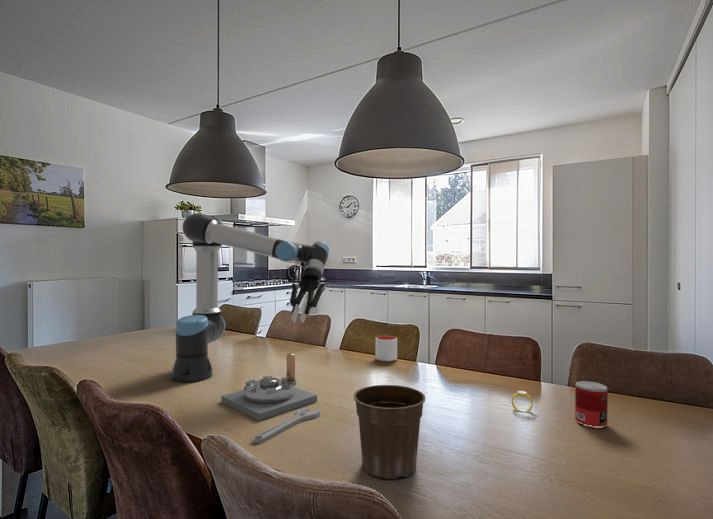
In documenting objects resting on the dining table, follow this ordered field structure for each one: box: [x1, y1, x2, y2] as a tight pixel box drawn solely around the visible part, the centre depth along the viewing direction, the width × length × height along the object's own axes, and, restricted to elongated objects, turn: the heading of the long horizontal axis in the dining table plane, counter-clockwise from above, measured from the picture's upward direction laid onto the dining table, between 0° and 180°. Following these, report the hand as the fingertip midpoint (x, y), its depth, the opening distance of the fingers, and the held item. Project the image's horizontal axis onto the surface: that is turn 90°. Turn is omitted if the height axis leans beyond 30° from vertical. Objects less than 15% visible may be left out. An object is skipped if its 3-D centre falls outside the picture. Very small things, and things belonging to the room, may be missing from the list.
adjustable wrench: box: [252, 406, 321, 445], centre depth 115 cm, size 25×6×2 cm, turn 144°
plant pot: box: [353, 384, 426, 480], centre depth 93 cm, size 16×16×16 cm
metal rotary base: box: [243, 352, 297, 404], centre depth 133 cm, size 17×16×13 cm
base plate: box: [220, 386, 318, 422], centre depth 133 cm, size 22×22×2 cm
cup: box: [375, 335, 398, 363], centre depth 188 cm, size 10×10×10 cm
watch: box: [511, 390, 534, 412], centre depth 126 cm, size 6×3×6 cm, turn 67°
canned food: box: [574, 380, 609, 426], centre depth 116 cm, size 8×8×11 cm
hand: (297, 320), depth 148 cm, fingers open, 3 cm apart
